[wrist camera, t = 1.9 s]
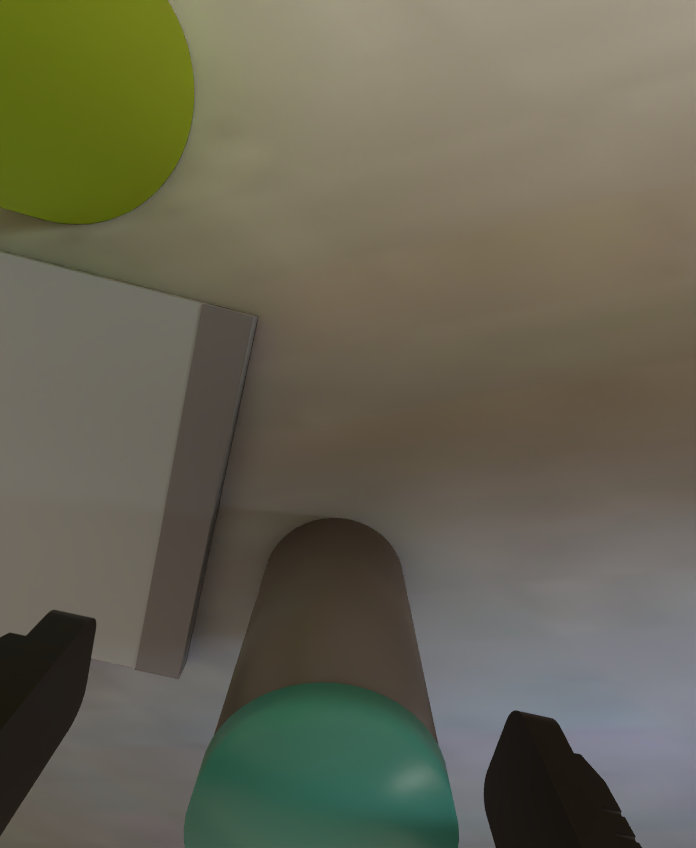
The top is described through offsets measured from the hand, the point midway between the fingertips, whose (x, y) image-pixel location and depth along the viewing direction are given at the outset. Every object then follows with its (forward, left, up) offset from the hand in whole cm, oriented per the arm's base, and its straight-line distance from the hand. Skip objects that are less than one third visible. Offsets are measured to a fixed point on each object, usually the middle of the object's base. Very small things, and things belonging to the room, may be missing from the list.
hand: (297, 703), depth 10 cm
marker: (-1, 0, -5) cm, 5 cm away
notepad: (+9, -2, -5) cm, 11 cm away
